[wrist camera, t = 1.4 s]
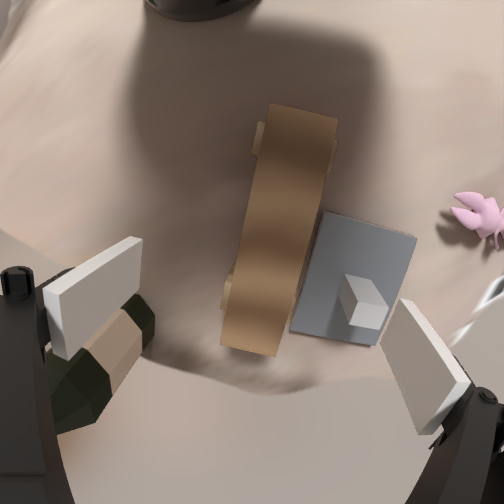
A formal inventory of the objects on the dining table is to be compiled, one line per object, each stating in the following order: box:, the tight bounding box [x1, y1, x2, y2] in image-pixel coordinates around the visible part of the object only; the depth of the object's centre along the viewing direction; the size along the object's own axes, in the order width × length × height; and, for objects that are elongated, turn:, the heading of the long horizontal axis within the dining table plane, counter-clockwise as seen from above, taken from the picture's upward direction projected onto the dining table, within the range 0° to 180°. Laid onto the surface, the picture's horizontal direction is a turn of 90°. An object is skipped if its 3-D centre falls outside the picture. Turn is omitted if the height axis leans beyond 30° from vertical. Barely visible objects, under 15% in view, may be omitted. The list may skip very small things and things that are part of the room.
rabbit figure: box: [450, 192, 504, 250], centre depth 26 cm, size 6×6×15 cm
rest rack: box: [220, 121, 338, 324], centre depth 29 cm, size 18×7×5 cm, turn 168°
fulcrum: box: [290, 211, 417, 346], centre depth 29 cm, size 14×11×8 cm
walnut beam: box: [220, 103, 339, 357], centre depth 24 cm, size 20×5×4 cm, turn 168°
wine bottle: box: [46, 294, 155, 435], centre depth 23 cm, size 8×8×30 cm
